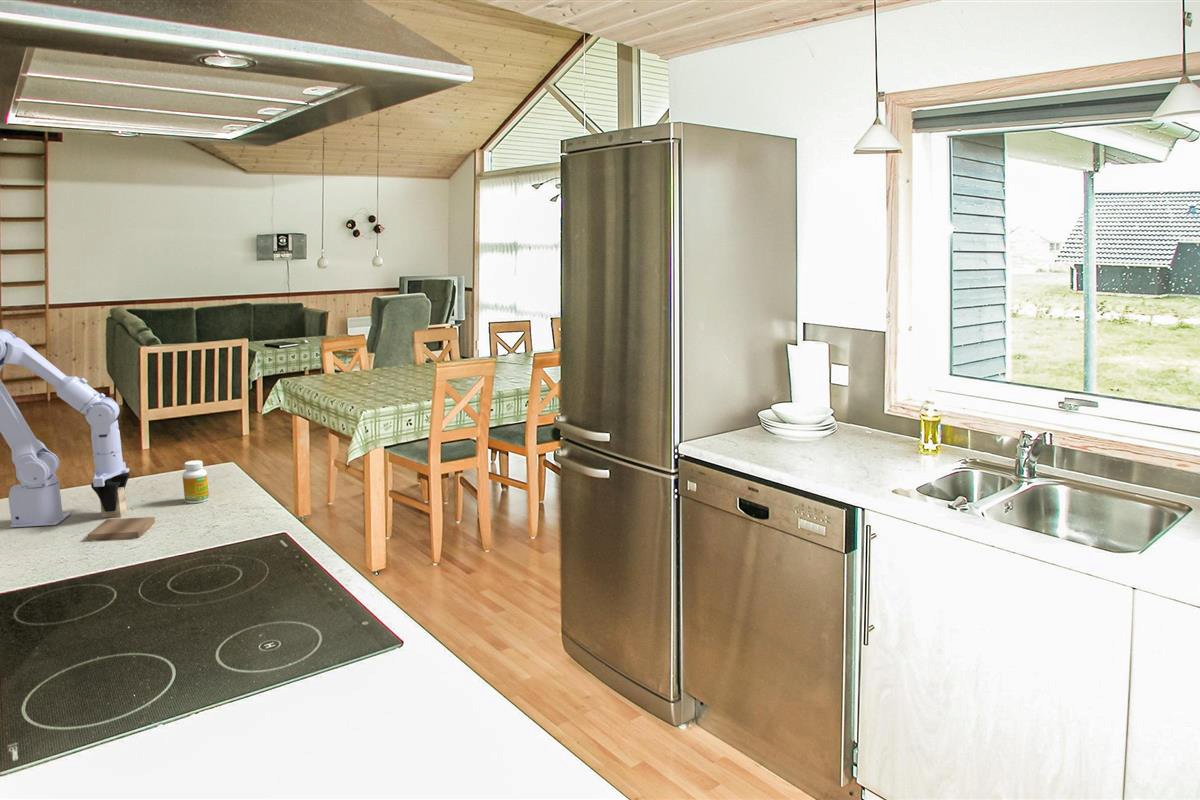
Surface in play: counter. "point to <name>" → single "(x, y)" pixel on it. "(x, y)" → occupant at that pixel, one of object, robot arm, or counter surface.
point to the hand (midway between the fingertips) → (113, 507)
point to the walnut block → (121, 528)
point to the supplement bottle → (195, 482)
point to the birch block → (117, 505)
